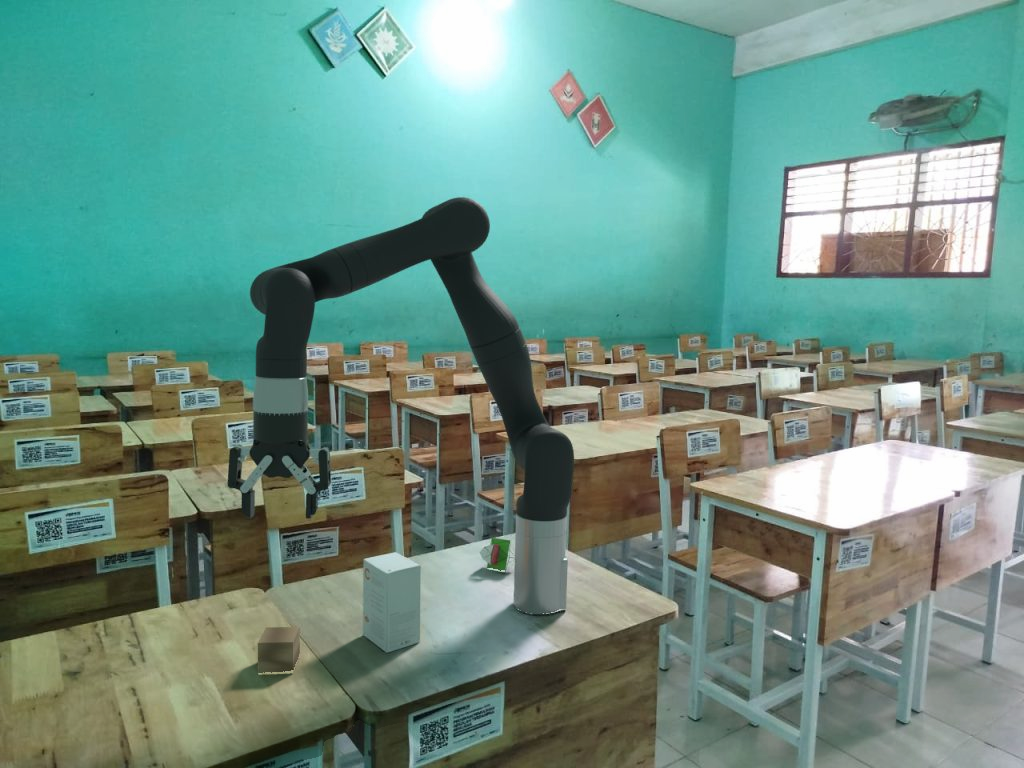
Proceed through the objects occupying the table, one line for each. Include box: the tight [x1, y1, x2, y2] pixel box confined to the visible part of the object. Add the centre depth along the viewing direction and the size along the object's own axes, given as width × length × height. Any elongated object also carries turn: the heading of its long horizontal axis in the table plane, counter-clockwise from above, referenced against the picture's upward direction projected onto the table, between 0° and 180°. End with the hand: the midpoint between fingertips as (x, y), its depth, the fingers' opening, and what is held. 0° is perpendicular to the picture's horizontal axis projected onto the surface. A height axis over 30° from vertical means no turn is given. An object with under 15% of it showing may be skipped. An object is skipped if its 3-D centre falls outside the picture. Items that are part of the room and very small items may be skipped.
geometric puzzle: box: [479, 537, 515, 571], centre depth 147 cm, size 7×7×8 cm
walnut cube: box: [257, 626, 301, 674], centre depth 106 cm, size 5×5×5 cm
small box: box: [362, 551, 422, 653], centre depth 115 cm, size 8×6×13 cm
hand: (279, 516), depth 104 cm, fingers open, 8 cm apart
